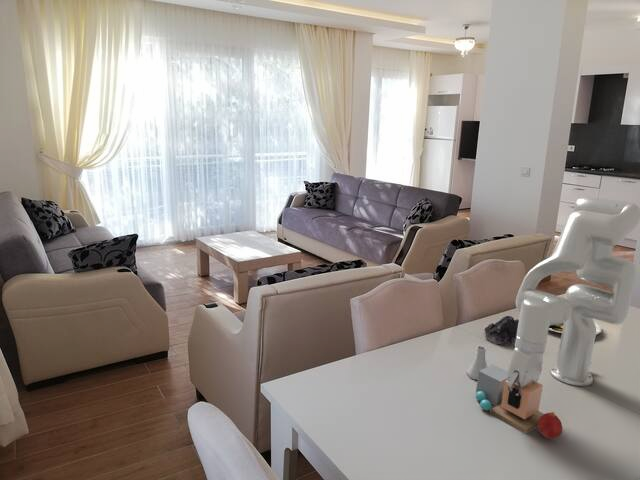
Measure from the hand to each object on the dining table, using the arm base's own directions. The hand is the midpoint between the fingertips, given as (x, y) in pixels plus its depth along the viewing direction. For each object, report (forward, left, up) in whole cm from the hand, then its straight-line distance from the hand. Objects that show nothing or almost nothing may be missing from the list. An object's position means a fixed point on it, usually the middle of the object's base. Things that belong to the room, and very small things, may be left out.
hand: (520, 401), depth 133 cm
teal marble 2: (+5, -7, -2) cm, 8 cm away
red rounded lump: (+3, +10, -5) cm, 11 cm away
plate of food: (-76, -24, -5) cm, 80 cm away
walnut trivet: (0, 0, -5) cm, 5 cm away
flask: (-10, -20, -5) cm, 23 cm away
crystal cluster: (-43, -31, -5) cm, 53 cm away
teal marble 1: (+1, -11, -2) cm, 11 cm away
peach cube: (0, 0, -2) cm, 2 cm away
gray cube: (-3, -10, -5) cm, 12 cm away
